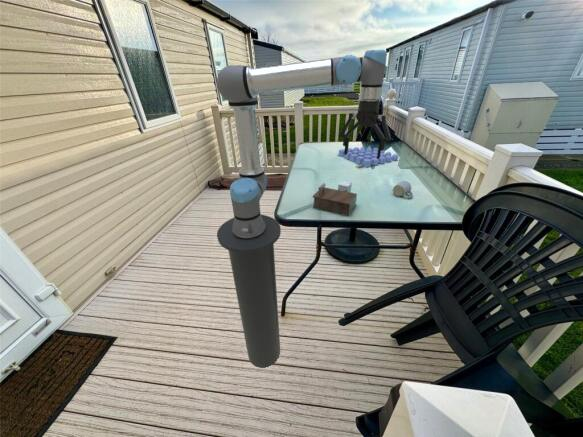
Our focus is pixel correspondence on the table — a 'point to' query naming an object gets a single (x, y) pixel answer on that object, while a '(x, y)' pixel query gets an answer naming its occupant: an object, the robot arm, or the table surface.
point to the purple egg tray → (367, 156)
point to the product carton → (345, 186)
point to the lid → (334, 195)
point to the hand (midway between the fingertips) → (361, 156)
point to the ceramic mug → (403, 189)
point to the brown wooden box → (334, 206)
